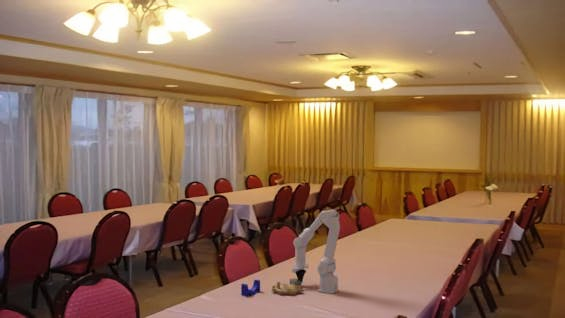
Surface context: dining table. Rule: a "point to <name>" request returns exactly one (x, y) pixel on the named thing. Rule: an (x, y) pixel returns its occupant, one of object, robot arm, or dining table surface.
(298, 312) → the dining table surface
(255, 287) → the cable clip
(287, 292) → the sprocket wheel
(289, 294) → the wheel base
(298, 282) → the link block
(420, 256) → the dining table surface
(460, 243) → the dining table surface
